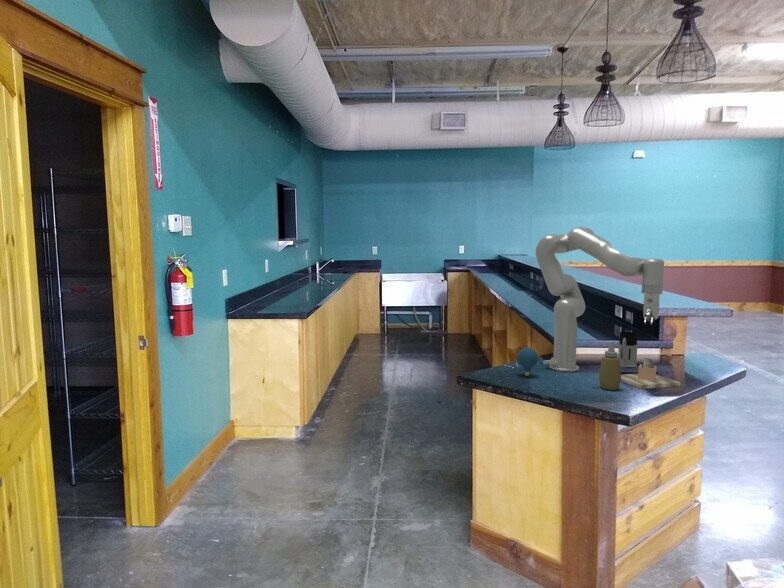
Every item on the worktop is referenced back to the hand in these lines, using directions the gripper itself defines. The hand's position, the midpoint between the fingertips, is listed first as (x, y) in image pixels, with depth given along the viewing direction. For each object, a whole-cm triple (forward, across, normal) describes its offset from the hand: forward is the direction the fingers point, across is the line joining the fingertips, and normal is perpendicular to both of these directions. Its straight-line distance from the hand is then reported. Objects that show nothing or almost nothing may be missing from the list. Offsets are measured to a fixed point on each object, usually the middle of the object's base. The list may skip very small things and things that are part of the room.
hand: (649, 332), depth 219 cm
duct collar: (+19, 0, 0) cm, 19 cm away
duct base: (+20, 0, 0) cm, 20 cm away
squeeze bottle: (+21, -19, +11) cm, 30 cm away
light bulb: (+21, -18, +43) cm, 51 cm away
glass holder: (+21, +25, +11) cm, 34 cm away
